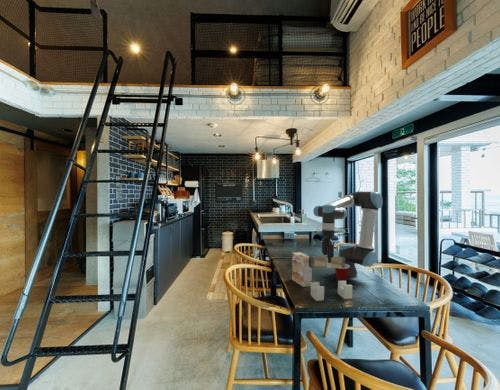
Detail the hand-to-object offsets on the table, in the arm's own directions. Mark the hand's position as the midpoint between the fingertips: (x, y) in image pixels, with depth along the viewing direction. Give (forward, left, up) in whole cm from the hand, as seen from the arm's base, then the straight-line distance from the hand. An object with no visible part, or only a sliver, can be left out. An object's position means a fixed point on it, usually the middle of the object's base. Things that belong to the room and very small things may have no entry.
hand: (327, 266), depth 155 cm
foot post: (+5, +9, -17) cm, 20 cm away
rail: (0, 0, 0) cm, 0 cm away
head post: (+5, -9, -17) cm, 20 cm away
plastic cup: (-17, +19, -17) cm, 31 cm away
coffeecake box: (-19, -9, -17) cm, 27 cm away
